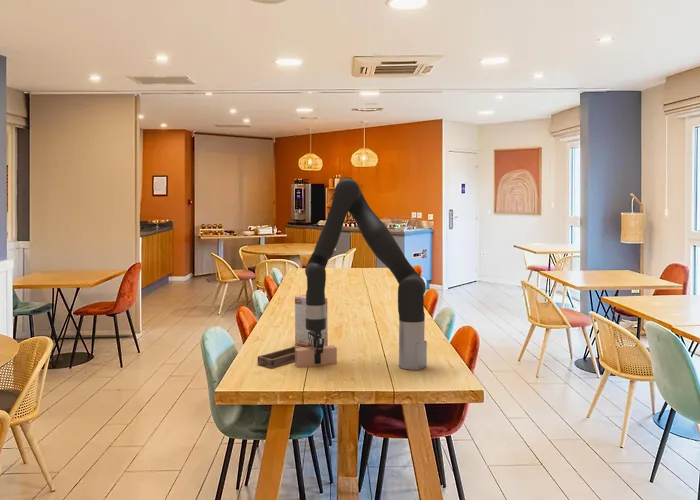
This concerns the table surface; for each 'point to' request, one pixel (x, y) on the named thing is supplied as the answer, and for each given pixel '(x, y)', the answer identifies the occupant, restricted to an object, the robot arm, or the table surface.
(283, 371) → the table surface
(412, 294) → the robot arm
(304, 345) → the cracker box
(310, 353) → the clay strip
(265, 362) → the tray
